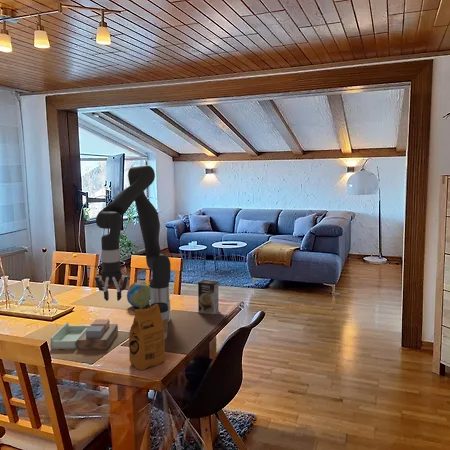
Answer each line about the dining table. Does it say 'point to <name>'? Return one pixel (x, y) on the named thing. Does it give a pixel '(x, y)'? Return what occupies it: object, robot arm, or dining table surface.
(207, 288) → the coffee box
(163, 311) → the coffee cup
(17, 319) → the dining table surface
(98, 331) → the slate tile
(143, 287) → the blue green round ball
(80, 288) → the dining table surface
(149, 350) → the coffee package
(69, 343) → the tray
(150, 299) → the robot arm
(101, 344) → the grey brown flat block
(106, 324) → the terracotta tile
